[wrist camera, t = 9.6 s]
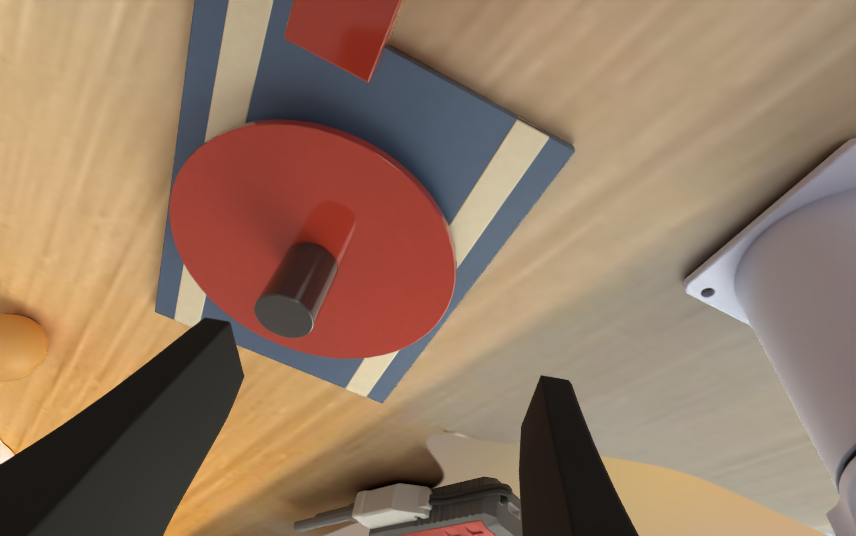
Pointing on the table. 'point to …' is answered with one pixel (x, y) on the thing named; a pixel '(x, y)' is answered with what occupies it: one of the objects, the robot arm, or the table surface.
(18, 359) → the figurine
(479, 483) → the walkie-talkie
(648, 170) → the table surface
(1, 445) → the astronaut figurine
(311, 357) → the towel
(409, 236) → the lid
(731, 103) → the table surface
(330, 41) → the pot
